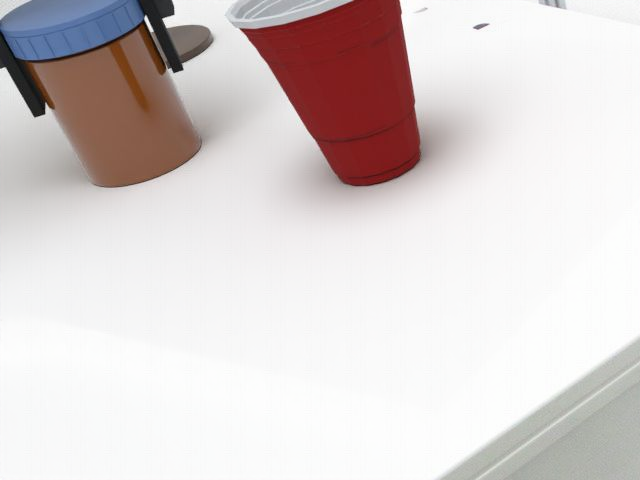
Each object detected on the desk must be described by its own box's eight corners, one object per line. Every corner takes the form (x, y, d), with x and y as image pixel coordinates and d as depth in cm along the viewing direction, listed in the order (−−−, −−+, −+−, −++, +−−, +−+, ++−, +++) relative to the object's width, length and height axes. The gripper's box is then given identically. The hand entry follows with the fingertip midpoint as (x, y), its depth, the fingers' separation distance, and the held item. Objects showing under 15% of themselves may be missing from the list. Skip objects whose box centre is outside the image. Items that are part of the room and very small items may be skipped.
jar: (67, 192, 77) (-18, 45, 70) (122, 138, 83) (49, -3, 76) (171, 181, 76) (94, 29, 69) (219, 126, 82) (154, -19, 75)
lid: (10, 73, 69) (-7, 43, 68) (15, 34, 76) (-1, 6, 75) (151, 30, 71) (137, 0, 70) (143, -5, 77) (130, -32, 76)
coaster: (82, 83, 95) (79, 76, 94) (135, 38, 102) (132, 32, 102) (184, 70, 93) (180, 63, 92) (230, 25, 100) (227, 18, 100)
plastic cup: (366, 122, 77) (302, -55, 69) (487, 132, 73) (434, -57, 65) (264, 197, 71) (181, 12, 63) (389, 214, 66) (316, 15, 58)
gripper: (-312, -244, 56) (-53, 157, 71) (104, -345, 60) (266, 55, 75) (-280, -255, 62) (-45, 119, 77) (100, -347, 66) (252, 26, 81)
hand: (109, 87), depth 76 cm, fingers closed on lid, 9 cm apart
